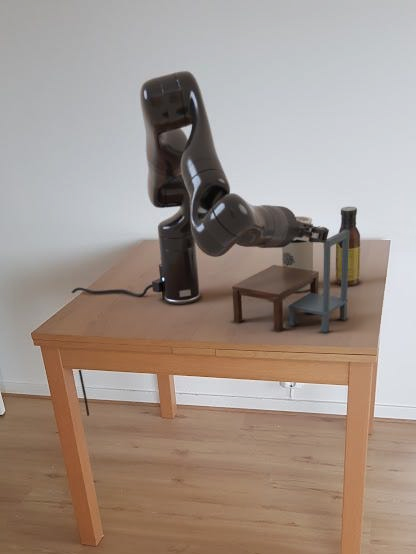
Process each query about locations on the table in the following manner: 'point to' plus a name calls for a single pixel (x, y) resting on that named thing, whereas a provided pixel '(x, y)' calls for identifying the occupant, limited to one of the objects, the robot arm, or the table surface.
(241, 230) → the robot arm
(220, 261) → the table surface
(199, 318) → the table surface
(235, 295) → the walnut table
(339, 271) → the sauce bottle
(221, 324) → the table surface
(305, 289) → the travel mug
